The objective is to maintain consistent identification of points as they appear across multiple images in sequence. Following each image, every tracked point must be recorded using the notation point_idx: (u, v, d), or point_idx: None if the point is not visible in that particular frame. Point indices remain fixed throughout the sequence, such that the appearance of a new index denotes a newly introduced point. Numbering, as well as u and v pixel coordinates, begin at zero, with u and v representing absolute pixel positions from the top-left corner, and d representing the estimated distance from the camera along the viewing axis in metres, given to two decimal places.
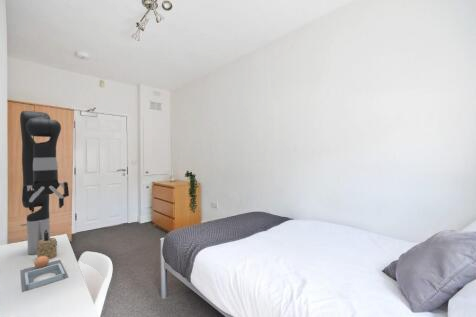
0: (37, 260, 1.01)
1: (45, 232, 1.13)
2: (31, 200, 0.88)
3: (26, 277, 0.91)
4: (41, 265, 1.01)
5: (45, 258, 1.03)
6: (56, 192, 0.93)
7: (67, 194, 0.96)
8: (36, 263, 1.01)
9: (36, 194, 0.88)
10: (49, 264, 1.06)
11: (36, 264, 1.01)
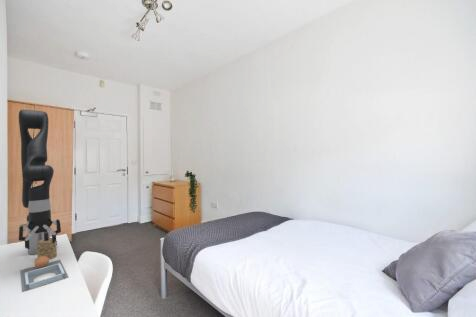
0: (37, 260, 1.01)
1: (45, 232, 1.13)
2: (27, 239, 0.99)
3: (26, 277, 0.91)
4: (41, 265, 1.01)
5: (45, 258, 1.03)
6: (49, 230, 1.04)
7: (59, 231, 1.07)
8: (36, 263, 1.01)
9: (31, 233, 1.00)
10: (49, 264, 1.06)
11: (36, 264, 1.01)
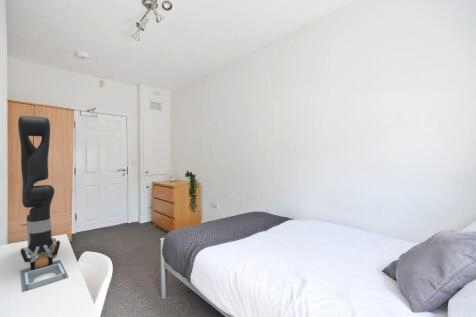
0: (37, 260, 1.01)
1: None
2: (32, 260, 1.00)
3: (26, 277, 0.91)
4: (41, 265, 1.01)
5: (45, 258, 1.03)
6: (48, 251, 1.04)
7: (56, 253, 1.06)
8: (36, 263, 1.01)
9: (34, 254, 1.00)
10: None
11: (36, 264, 1.01)
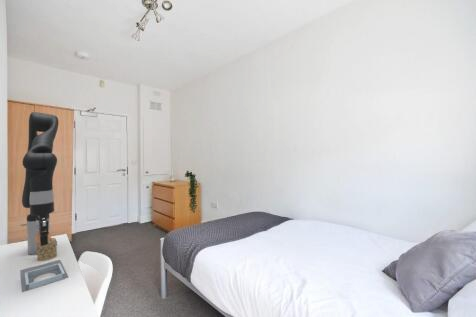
0: None
1: None
2: (38, 231, 0.95)
3: (26, 277, 0.91)
4: (35, 240, 0.92)
5: (38, 235, 0.92)
6: (37, 228, 0.91)
7: (40, 234, 0.89)
8: None
9: (37, 226, 0.94)
10: (49, 264, 1.06)
11: None
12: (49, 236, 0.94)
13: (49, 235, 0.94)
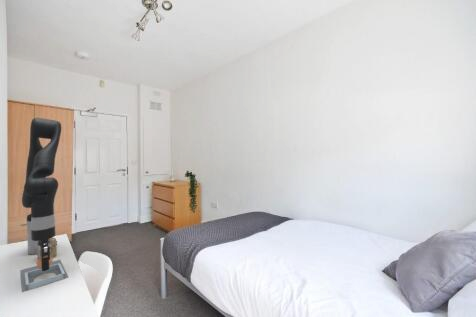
0: None
1: None
2: (39, 255, 0.95)
3: (26, 277, 0.91)
4: (37, 265, 0.92)
5: (40, 260, 0.92)
6: (39, 253, 0.91)
7: (41, 260, 0.89)
8: None
9: (38, 250, 0.94)
10: None
11: None
12: (50, 261, 0.94)
13: (50, 260, 0.94)
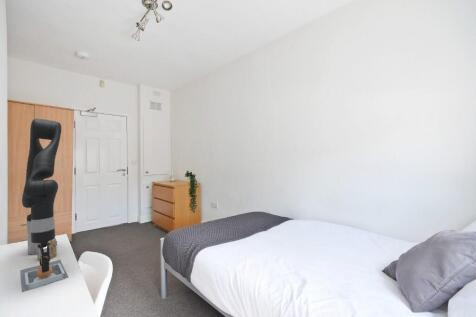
0: None
1: None
2: None
3: (26, 277, 0.91)
4: (37, 275, 0.93)
5: (40, 269, 0.92)
6: (39, 255, 0.91)
7: (41, 261, 0.88)
8: None
9: None
10: (49, 264, 1.06)
11: None
12: (50, 270, 0.94)
13: (50, 269, 0.94)
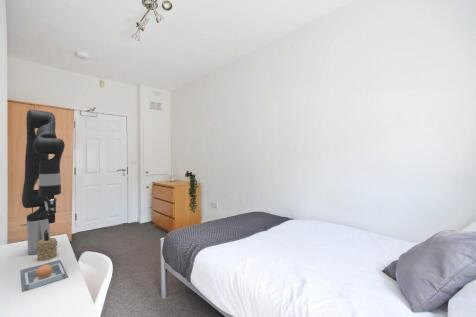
0: None
1: (45, 232, 1.13)
2: (46, 209, 1.03)
3: (26, 277, 0.91)
4: (37, 275, 0.93)
5: (40, 269, 0.92)
6: (45, 207, 0.97)
7: (48, 212, 0.94)
8: None
9: (45, 205, 1.01)
10: (49, 264, 1.06)
11: None
12: (50, 270, 0.94)
13: (50, 269, 0.94)
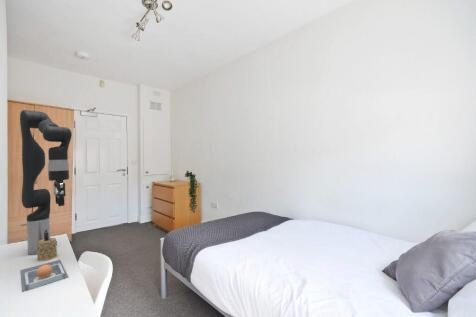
0: None
1: (45, 232, 1.13)
2: None
3: (26, 277, 0.91)
4: (37, 275, 0.93)
5: (40, 269, 0.92)
6: (55, 191, 1.03)
7: (58, 195, 1.01)
8: None
9: (54, 190, 1.07)
10: (49, 264, 1.06)
11: None
12: (50, 270, 0.94)
13: (50, 269, 0.94)
